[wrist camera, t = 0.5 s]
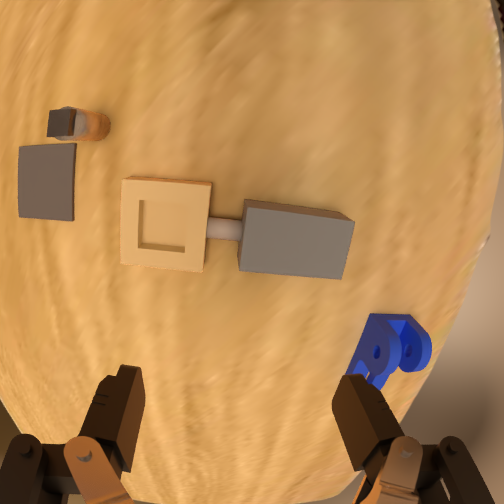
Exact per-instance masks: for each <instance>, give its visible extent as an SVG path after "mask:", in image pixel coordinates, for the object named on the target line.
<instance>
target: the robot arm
mask: <svg viewBox="0 0 504 504" xmlns="http://www.w3.org/2000/svg"><path fill="white" fill-rule="evenodd" d="M385 401H386V400H385V398H384V397H383V395H382V393H381V391H380V390H378V389H377V388H376V387H375V386H374V385H373V384H368V383H367V381H366V379H365V377H364V376H363V374H361V373H358V374H346V375H343V376H342V378H341V380H340V383H339V385H338V388H337V390H336V392H335V395H334V397H333V400H332V411H333V414H334V417H335V420H336V422H337V425H338V428H339V430H340V433H341V436H342V438H343V441H344V444H345V447H346V449H347V452H348V455H349V457H350V460H351V463H352V466H353V468H354V471H355V472H356V471H360V470H365V472H366V475H365V476H364V478H363V480H362V482H361V484H360V487H359V489H358V491H357V493H356V496H355V498H354V500H353V502H352V504H495V503H494V500H493V498H492V496H491V494H490V492H489V490H488V488H487V486H486V484H485V482H484V480H483V478H482V476H481V474H480V472H479V471H478V468H477V466H476V465H475V463H474V461H473V459H472V457H471V455H470V453H469V452H468V450H467V448H466V446H465V445H464V443H463V442H462V441H461V440H460V439H459V438H457V437H454V436H448V437H445V438H444V439H443V440H442V441H441V442H440V443H439V444H438V445H421V444H420V443H419V441H417V440H416V439H415V438H413V437H410V436H405V435H404V433H403V431H402V429H401V427H400V426H399V424H398V422H397V420H396V418H395V416H394V415H393V413H392V411H391V409H389V408H390V407H389V405H388V404H387V402H385ZM144 407H145V389H144V384H143V378H142V371H141V368H140V367H136V366H129V365H123V364H122V365H121V366H120V368H119V370H118V373H117V375H116V376H111V375H108V376H106V377H105V378H104V379H103V380H102V381H101V382H100V383H99V385H98V388H97V390H96V393H95V395H94V397H93V400H92V403H91V405H90V407H89V410H88V412H87V415H86V417H85V420H84V423H83V425H82V428H81V431H80V433H79V435H78V436H77V437H74V438H72V439H70V440H69V441H68V442H67V443H66V444H41V443H40V441H39V440H38V439H37V438H36V437H34V436H33V435H30V434H20V435H17V436H16V437H14V438H13V439H12V441H11V443H10V445H9V447H8V450H7V453H6V455H5V458H4V460H3V463H2V466H1V469H0V504H67V502H68V496H69V494H81V495H82V497H83V499H84V501H85V503H86V504H135V503H134V502H133V500H132V499H131V497H130V496H129V494H128V493H127V491H126V490H125V488H124V486H123V485H122V483H121V482H120V479H121V474H122V471H124V472H129V473H131V467H132V462H133V457H134V452H135V447H136V443H137V438H138V433H139V429H140V424H141V420H142V416H143V411H144ZM442 478H443V480H444V483H445V485H446V487H447V489H448V492H449V494H450V501H449V500H448V497H447V495H446V492H445V490H444V488H443V486H442V483H441V481H440V480H441V479H442Z"/></svg>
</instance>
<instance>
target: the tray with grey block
mask: <svg viewBox="0 0 504 504" xmlns="http://www.w3.org/2000/svg"><path fill="white" fill-rule="evenodd" d="M211 188H212V183H207V182H197V181H186V180H174V179H160V178H146V177H127V178H124V179H122V188H121V216H120V255H121V264H127V265H135V266H144V267H153V268H162V269H171V270H181V271H190V272H200V273H203V267H204V259H205V248H206V238H214V239H224V240H233V241H239V246H238V254H237V257H238V265H239V271H245V272H256V273H267V274H278V275H290V276H302V277H314V278H327V279H340V280H341V279H342V275H343V271H344V267H345V263H346V259H347V255H348V251H349V247H350V242H351V238H352V234H353V229H354V225H355V222H354V221H353V220H351V219H349V218H348V217H346V216H344V215H343V214H341V213H339V212H334V211H327V210H321V209H314V208H307V207H300V206H293V205H286V204H279V203H271V202H263V201H255V200H247V199H245V200H244V207H243V215H242V220H232V219H223V218H213V217H208V216H209V207H210V197H211Z"/></svg>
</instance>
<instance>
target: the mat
mask: <svg viewBox="0 0 504 504" xmlns="http://www.w3.org/2000/svg"><path fill="white" fill-rule="evenodd" d="M76 145H77V144H51V145H35V146H23V147H19V158H18V210H19V217H23V218H36V219H49V220H61V221H74V177H75V158H76Z"/></svg>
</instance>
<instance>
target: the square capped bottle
mask: <svg viewBox="0 0 504 504" xmlns="http://www.w3.org/2000/svg"><path fill="white" fill-rule="evenodd" d="M109 131H110V120H109V118H108V117H107V116H106V115H103V114H100V113H95V112H91V111H87V110H83V109H78V108H74V107H69V106H68V107H63V108H61V109H59V110H50V112H49V120H48V129H47V137H55V138H56V139H58V140H82V141H99V140H102V139H104V138H105V137H106V136H107V135H108V133H109Z"/></svg>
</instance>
